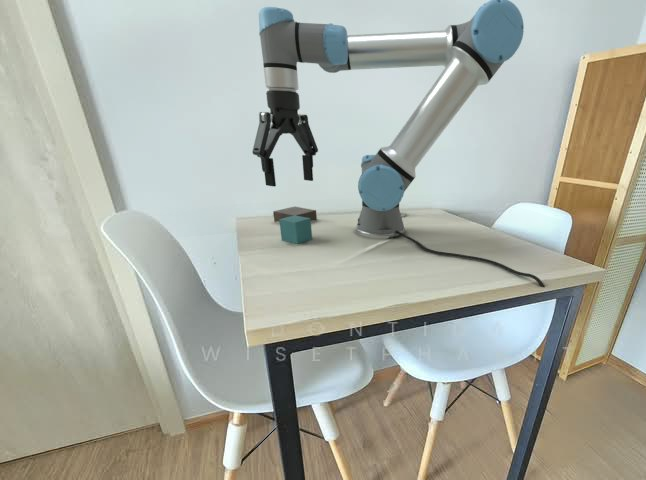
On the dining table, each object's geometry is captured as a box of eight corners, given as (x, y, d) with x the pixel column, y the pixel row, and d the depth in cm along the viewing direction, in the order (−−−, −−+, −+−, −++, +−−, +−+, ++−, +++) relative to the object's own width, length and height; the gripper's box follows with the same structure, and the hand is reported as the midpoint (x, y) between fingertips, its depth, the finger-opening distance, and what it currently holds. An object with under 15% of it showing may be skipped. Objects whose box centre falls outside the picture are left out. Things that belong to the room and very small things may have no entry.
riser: (317, 221, 125) (316, 210, 123) (296, 227, 117) (295, 215, 115) (295, 217, 129) (294, 206, 127) (274, 223, 121) (273, 211, 119)
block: (312, 239, 103) (310, 218, 100) (297, 244, 98) (295, 222, 95) (296, 235, 105) (294, 215, 103) (281, 240, 101) (279, 219, 98)
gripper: (306, 95, 97) (312, 177, 106) (226, 85, 77) (241, 186, 86) (328, 95, 94) (332, 179, 103) (250, 84, 74) (263, 190, 83)
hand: (290, 183), depth 95 cm, fingers open, 13 cm apart
